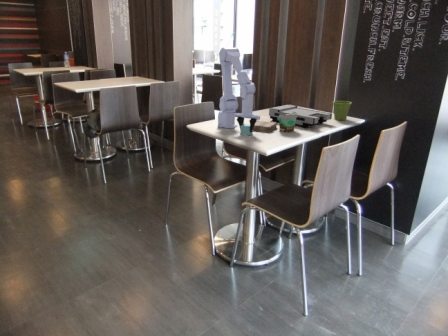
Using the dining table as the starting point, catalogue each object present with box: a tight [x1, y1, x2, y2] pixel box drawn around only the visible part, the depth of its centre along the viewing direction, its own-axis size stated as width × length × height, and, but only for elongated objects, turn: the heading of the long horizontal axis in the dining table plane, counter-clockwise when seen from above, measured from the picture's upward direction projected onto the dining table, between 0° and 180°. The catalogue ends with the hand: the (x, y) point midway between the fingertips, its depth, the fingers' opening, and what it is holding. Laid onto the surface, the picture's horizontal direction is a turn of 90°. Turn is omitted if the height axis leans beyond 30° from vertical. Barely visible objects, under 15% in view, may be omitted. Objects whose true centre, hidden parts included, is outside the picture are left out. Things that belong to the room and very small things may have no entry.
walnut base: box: [253, 120, 278, 133], centre depth 197 cm, size 12×12×3 cm
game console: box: [268, 104, 333, 129], centre depth 212 cm, size 21×32×8 cm, turn 44°
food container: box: [278, 112, 297, 133], centre depth 191 cm, size 12×6×10 cm, turn 126°
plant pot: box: [332, 100, 353, 121], centre depth 221 cm, size 12×12×11 cm
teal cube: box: [240, 123, 253, 136], centre depth 186 cm, size 5×5×5 cm
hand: (246, 131), depth 187 cm, fingers closed on teal cube, 5 cm apart
